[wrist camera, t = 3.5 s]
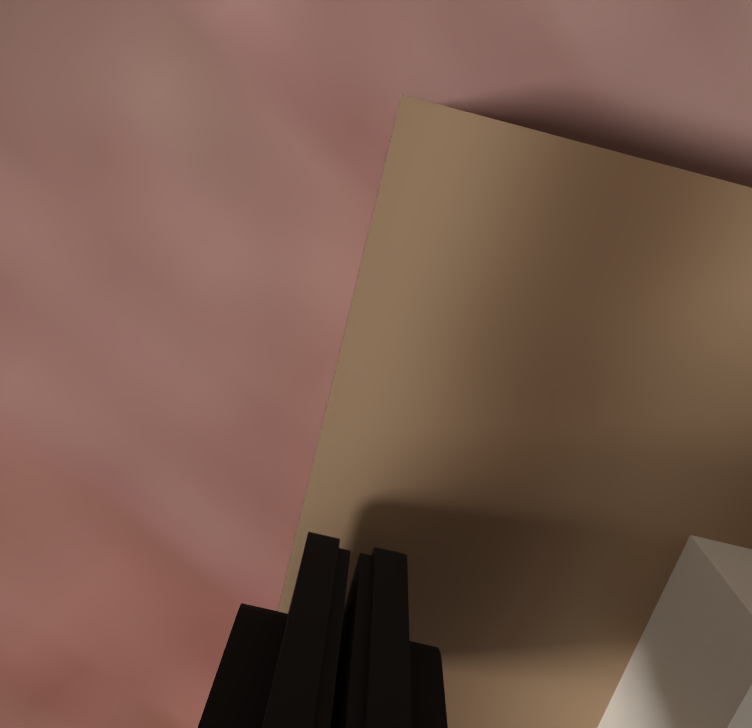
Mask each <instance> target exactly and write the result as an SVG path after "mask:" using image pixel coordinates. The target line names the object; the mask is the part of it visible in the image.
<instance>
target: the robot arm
mask: <svg viewBox="0 0 752 728" xmlns="http://www.w3.org/2000/svg"><path fill="white" fill-rule="evenodd" d="M339 544H340V539H339V538H334V537H330V536H326V535H321V534H317V533H313V532H308V535H307V539H306V543H305V547H304V551H303V555H302V559H301V563H300V567H299V571H298V575H297V579H296V583H295V587H294V591H293V595H292V599H291V603H290V607H289V612H288V614H287V613H282V612H278V611H273V610H269V609H265V608H260V607H256V606H251V605H247V604H241V605H240V608H239V610H238V613H237V616H236V619H235V621H234V624H233V627H232V630H231V633H230V636H229V639H228V642H227V645H226V647H225V650H224V653H223V656H222V659H221V662H220V665H219V668H218V671H217V673H216V676H215V679H214V682H213V685H212V688H211V691H210V694H209V697H208V700H207V702H206V705H205V708H204V711H203V714H202V717H201V720H200V723H199V726H198V728H448V724H447V713H446V702H445V691H444V679H443V668H442V658H441V652H440V650H439V648H438V647H435V646H430V645H426V644H421V643H417V642H412V641H409V603H408V565H407V555H406V554H404V553H399V552H395V551H391V550H386V549H382V548H378V547H374V549H373V551H372V554H371V555H368V554H364V553H360V554H359V557H358V560H357V564H356V567H355V571H354V574H353V578H352V582H351V585H350V589H349V592H348V596H347V599H346V603H345V596H346V587H347V579H348V570H349V561H350V552H351V551H350V550H346V549H342V548H339ZM344 605H345V606H344Z"/></svg>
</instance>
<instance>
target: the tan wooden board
mask: <svg viewBox="0 0 752 728" xmlns="http://www.w3.org/2000/svg"><path fill="white" fill-rule="evenodd" d="M308 532H313V533H317V534H321V535H326V536H330V537H334V538H339V539H340V544H339V548H342V549H346V550H350V551H351V552H350V561H349V570H348V579H347V587H346V596H345V603H346V599H347V596H348V592H349V589H350V585H351V582H352V578H353V574H354V571H355V567H356V564H357V560H358V557H359V554H360V553H364V554H368V555H371V554H372V551H373V549H374V547H378V548H382V549H386V550H391V551H395V552H399V553H404V554H406V555H407V565H408V603H409V641H412V642H417V643H421V644H426V645H430V646H435V647H438V648H439V650H440V652H441V658H442V668H443V679H444V691H445V702H446V713H447V724H448V728H597V727H598V725H599V723H600V721H601V719H602V717H603V715H604V713H605V711H606V709H607V707H608V705H609V702H610V700H611V698H612V696H613V694H614V692H615V690H616V688H617V686H618V684H619V682H620V680H621V678H622V675H623V673H624V671H625V669H626V667H627V665H628V663H629V661H630V659H631V657H632V655H633V653H634V651H635V648H636V646H637V644H638V642H639V640H640V638H641V636H642V634H643V632H644V630H645V628H646V626H647V624H648V621H649V619H650V617H651V615H652V613H653V611H654V609H655V607H656V605H657V603H658V601H659V599H660V597H661V595H662V592H663V590H664V588H665V586H666V584H667V582H668V580H669V578H670V576H671V574H672V572H673V570H674V568H675V565H676V563H677V561H678V559H679V557H680V555H681V553H682V551H683V549H684V547H685V545H686V543H687V541H688V538H689V536H690V535H693V536H697V537H702V538H706V539H710V540H714V541H719V542H723V543H727V544H731V545H735V546H740V547H744V548H748V549H752V188H751V187H747V186H744V185H740V184H736V183H732V182H728V181H725V180H721V179H717V178H713V177H710V176H706V175H702V174H698V173H695V172H691V171H687V170H683V169H680V168H676V167H672V166H668V165H665V164H661V163H657V162H653V161H650V160H646V159H642V158H638V157H635V156H631V155H627V154H623V153H620V152H616V151H612V150H608V149H605V148H601V147H597V146H593V145H590V144H586V143H582V142H578V141H575V140H571V139H567V138H563V137H560V136H556V135H552V134H548V133H545V132H541V131H537V130H533V129H530V128H526V127H522V126H518V125H514V124H511V123H507V122H503V121H499V120H496V119H492V118H488V117H484V116H481V115H477V114H473V113H469V112H466V111H462V110H458V109H454V108H451V107H447V106H443V105H439V104H436V103H432V102H428V101H424V100H421V99H417V98H413V97H409V96H406V95H402V94H401V98H400V102H399V106H398V111H397V115H396V119H395V123H394V127H393V131H392V136H391V140H390V144H389V148H388V152H387V156H386V161H385V165H384V169H383V173H382V177H381V181H380V186H379V190H378V194H377V198H376V202H375V206H374V211H373V215H372V219H371V223H370V227H369V231H368V236H367V240H366V244H365V248H364V252H363V257H362V261H361V265H360V269H359V273H358V277H357V282H356V286H355V290H354V294H353V298H352V302H351V307H350V311H349V315H348V319H347V323H346V327H345V332H344V336H343V340H342V344H341V348H340V352H339V357H338V361H337V365H336V369H335V373H334V377H333V382H332V386H331V390H330V394H329V398H328V402H327V407H326V411H325V415H324V419H323V423H322V427H321V432H320V436H319V440H318V444H317V448H316V452H315V457H314V461H313V465H312V469H311V473H310V478H309V482H308V486H307V490H306V494H305V498H304V503H303V507H302V511H301V515H300V519H299V523H298V528H297V532H296V536H295V540H294V544H293V548H292V553H291V557H290V561H289V565H288V569H287V573H286V578H285V582H284V586H283V590H282V594H281V598H280V603H279V607H278V612H282V613H287V614H288V612H289V607H290V603H291V599H292V595H293V591H294V587H295V583H296V579H297V575H298V571H299V567H300V563H301V559H302V555H303V551H304V547H305V543H306V539H307V535H308ZM344 606H345V605H344Z"/></svg>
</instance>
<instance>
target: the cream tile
mask: <svg viewBox="0 0 752 728" xmlns="http://www.w3.org/2000/svg"><path fill="white" fill-rule="evenodd" d="M597 728H752V549H748V548H744V547H740V546H735V545H731V544H727V543H723V542H719V541H714V540H710V539H706V538H702V537H697V536H693V535H690V536H689V538H688V541H687V543H686V545H685V547H684V549H683V551H682V553H681V555H680V557H679V559H678V561H677V563H676V565H675V568H674V570H673V572H672V574H671V576H670V578H669V580H668V582H667V584H666V586H665V588H664V590H663V592H662V595H661V597H660V599H659V601H658V603H657V605H656V607H655V609H654V611H653V613H652V615H651V617H650V619H649V621H648V624H647V626H646V628H645V630H644V632H643V634H642V636H641V638H640V640H639V642H638V644H637V646H636V648H635V651H634V653H633V655H632V657H631V659H630V661H629V663H628V665H627V667H626V669H625V671H624V673H623V675H622V678H621V680H620V682H619V684H618V686H617V688H616V690H615V692H614V694H613V696H612V698H611V700H610V702H609V705H608V707H607V709H606V711H605V713H604V715H603V717H602V719H601V721H600V723H599V725H598V727H597Z"/></svg>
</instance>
